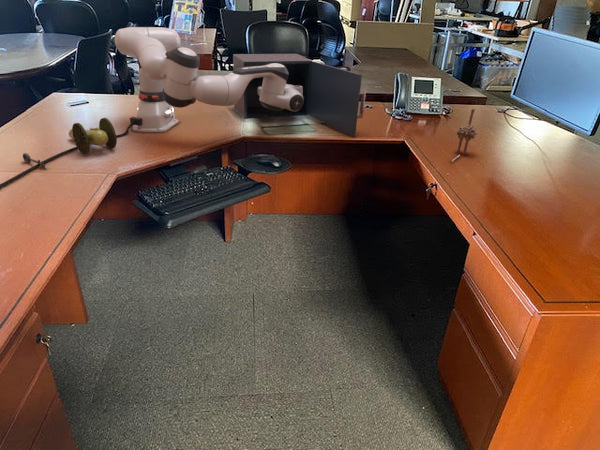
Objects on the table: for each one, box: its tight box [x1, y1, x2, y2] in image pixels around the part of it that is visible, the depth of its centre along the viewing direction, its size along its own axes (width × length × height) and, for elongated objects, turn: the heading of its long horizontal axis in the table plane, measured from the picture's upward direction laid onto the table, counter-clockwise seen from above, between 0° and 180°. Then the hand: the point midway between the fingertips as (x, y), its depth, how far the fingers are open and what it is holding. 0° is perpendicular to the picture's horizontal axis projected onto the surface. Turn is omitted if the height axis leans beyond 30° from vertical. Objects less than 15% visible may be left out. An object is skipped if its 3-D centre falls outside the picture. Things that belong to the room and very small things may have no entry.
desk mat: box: [261, 123, 317, 136], centre depth 202 cm, size 18×22×1 cm
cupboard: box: [232, 53, 313, 120], centre depth 213 cm, size 20×32×26 cm, turn 111°
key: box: [22, 152, 46, 170], centre depth 149 cm, size 12×1×3 cm, turn 59°
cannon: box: [68, 117, 118, 156], centre depth 165 cm, size 25×12×11 cm, turn 48°
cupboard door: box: [308, 60, 367, 138], centre depth 200 cm, size 7×32×26 cm, turn 36°
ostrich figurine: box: [451, 107, 478, 163], centre depth 173 cm, size 17×7×18 cm, turn 144°
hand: (274, 87), depth 208 cm, fingers closed on steel tumbler, 6 cm apart
